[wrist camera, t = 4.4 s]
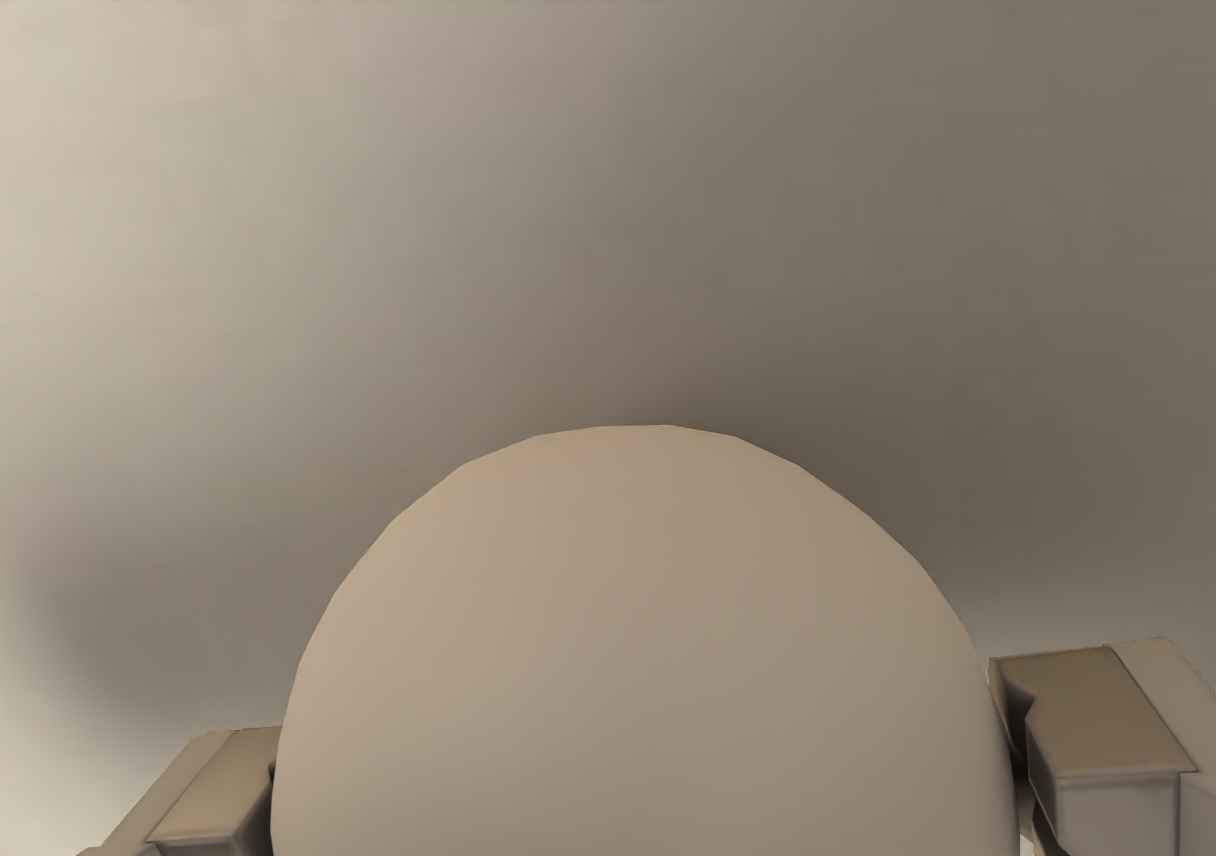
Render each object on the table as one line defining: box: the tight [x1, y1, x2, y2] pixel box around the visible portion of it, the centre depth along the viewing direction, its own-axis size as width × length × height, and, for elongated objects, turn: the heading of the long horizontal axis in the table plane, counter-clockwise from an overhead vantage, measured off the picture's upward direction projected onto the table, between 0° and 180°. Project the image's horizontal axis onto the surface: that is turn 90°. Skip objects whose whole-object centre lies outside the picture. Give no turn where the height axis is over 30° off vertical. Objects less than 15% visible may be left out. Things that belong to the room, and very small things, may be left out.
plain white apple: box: [270, 425, 1020, 856], centre depth 8 cm, size 7×7×8 cm
